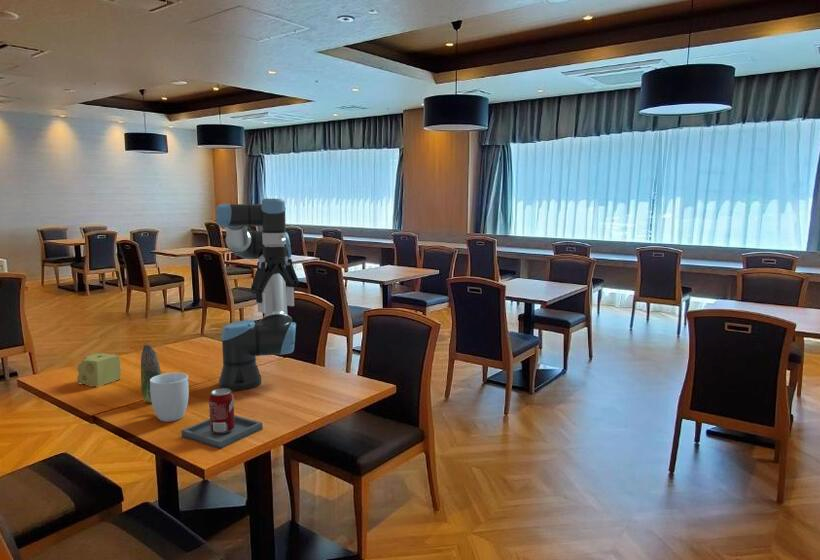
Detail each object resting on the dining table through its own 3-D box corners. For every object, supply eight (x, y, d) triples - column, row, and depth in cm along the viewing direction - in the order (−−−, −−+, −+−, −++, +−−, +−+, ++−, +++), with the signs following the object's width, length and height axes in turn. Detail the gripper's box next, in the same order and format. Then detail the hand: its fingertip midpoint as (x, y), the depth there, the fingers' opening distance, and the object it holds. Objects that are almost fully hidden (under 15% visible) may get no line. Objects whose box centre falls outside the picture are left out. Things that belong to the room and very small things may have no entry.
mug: (140, 415, 179) (137, 375, 177) (173, 406, 187) (171, 367, 185) (162, 427, 169) (160, 385, 167) (196, 417, 178) (194, 377, 176)
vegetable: (142, 399, 193) (138, 342, 190) (162, 397, 195) (159, 341, 192) (142, 405, 187) (138, 347, 184) (162, 403, 190) (159, 345, 187)
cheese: (77, 384, 208) (75, 358, 207) (102, 376, 218) (101, 351, 217) (97, 388, 204) (95, 361, 203) (122, 379, 214) (120, 354, 213)
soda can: (227, 436, 162) (225, 396, 160) (206, 434, 163) (203, 394, 161) (238, 427, 168) (237, 388, 167) (218, 425, 170) (216, 387, 168)
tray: (181, 436, 163) (181, 430, 162) (225, 418, 176) (224, 412, 176) (220, 449, 155) (219, 442, 154) (262, 429, 168) (262, 422, 168)
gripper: (254, 248, 173) (257, 316, 176) (308, 243, 194) (309, 304, 197) (237, 247, 177) (240, 314, 180) (291, 242, 198) (293, 302, 201)
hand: (276, 309), depth 188 cm, fingers open, 13 cm apart
